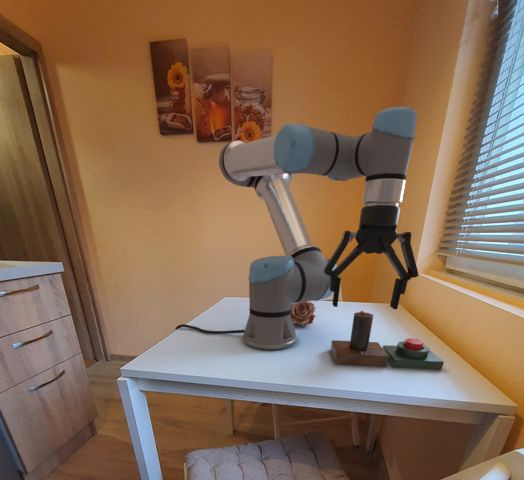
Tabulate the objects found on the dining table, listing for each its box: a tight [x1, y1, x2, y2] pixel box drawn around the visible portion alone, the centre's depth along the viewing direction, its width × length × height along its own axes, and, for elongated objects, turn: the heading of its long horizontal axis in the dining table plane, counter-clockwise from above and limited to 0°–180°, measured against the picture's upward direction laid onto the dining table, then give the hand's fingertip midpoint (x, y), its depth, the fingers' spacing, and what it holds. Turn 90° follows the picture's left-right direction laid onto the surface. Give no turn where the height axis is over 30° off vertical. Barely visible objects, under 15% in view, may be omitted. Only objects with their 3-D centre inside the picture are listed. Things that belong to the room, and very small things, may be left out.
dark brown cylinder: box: [349, 310, 374, 351], centre depth 68 cm, size 4×4×9 cm
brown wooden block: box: [330, 339, 389, 368], centre depth 70 cm, size 12×9×3 cm
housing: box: [382, 340, 445, 371], centre depth 69 cm, size 11×9×4 cm
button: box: [404, 337, 425, 350], centre depth 68 cm, size 4×4×2 cm
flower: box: [291, 301, 317, 328], centre depth 95 cm, size 10×9×8 cm
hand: (363, 306), depth 66 cm, fingers open, 13 cm apart
